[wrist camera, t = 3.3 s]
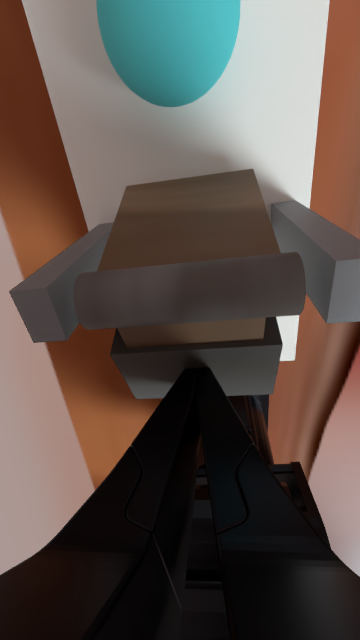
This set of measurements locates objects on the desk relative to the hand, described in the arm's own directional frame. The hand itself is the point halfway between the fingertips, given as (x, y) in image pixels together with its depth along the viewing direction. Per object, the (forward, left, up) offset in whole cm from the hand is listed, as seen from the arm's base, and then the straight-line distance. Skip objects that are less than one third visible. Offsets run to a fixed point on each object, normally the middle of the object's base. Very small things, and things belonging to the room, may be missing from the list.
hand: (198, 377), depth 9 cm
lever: (+3, 0, -6) cm, 7 cm away
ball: (+10, 0, -4) cm, 11 cm away
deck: (+3, 0, -10) cm, 10 cm away
